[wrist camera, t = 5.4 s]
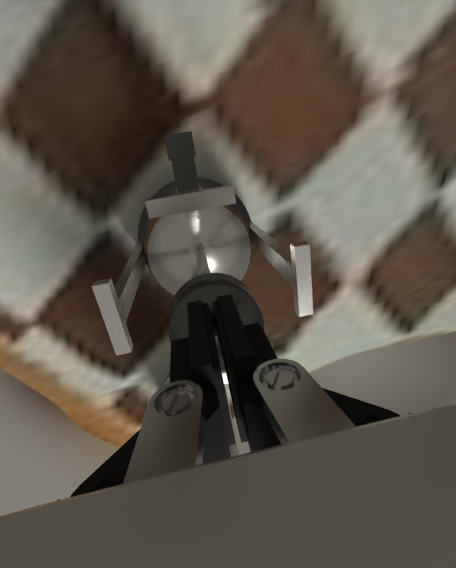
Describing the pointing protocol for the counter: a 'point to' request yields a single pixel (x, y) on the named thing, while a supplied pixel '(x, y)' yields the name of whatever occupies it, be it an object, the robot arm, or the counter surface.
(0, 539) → the robot arm
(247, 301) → the coffee press plunger
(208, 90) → the counter surface
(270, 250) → the cafetera
